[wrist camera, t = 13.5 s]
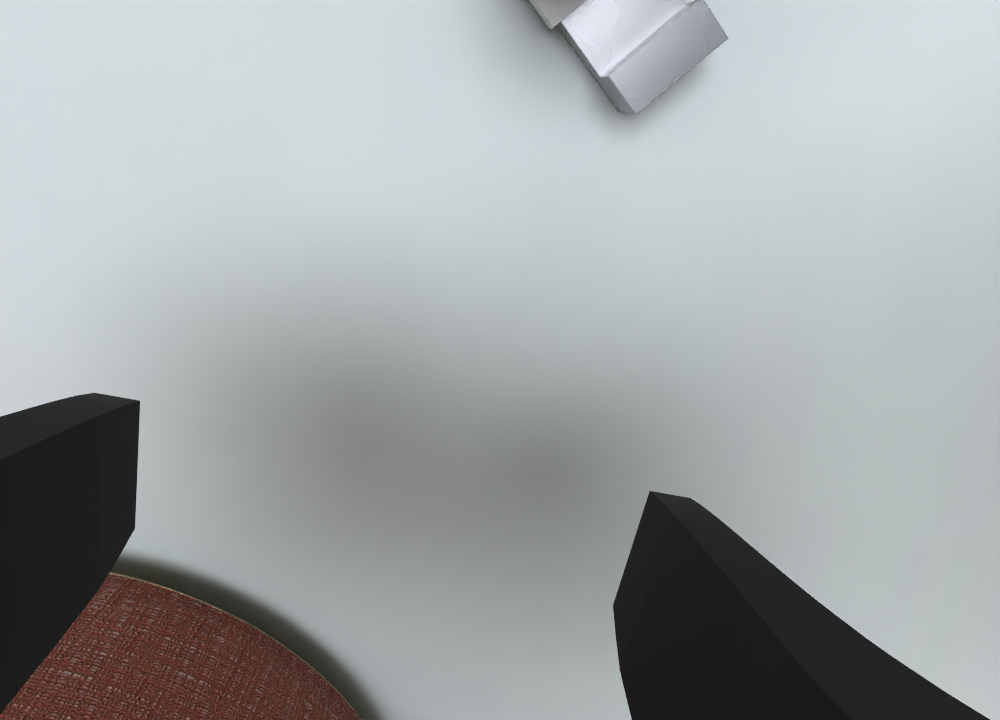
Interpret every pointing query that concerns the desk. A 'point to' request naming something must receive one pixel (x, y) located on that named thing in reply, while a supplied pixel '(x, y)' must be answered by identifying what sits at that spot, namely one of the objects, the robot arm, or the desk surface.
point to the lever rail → (640, 44)
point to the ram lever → (554, 10)
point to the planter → (171, 665)
